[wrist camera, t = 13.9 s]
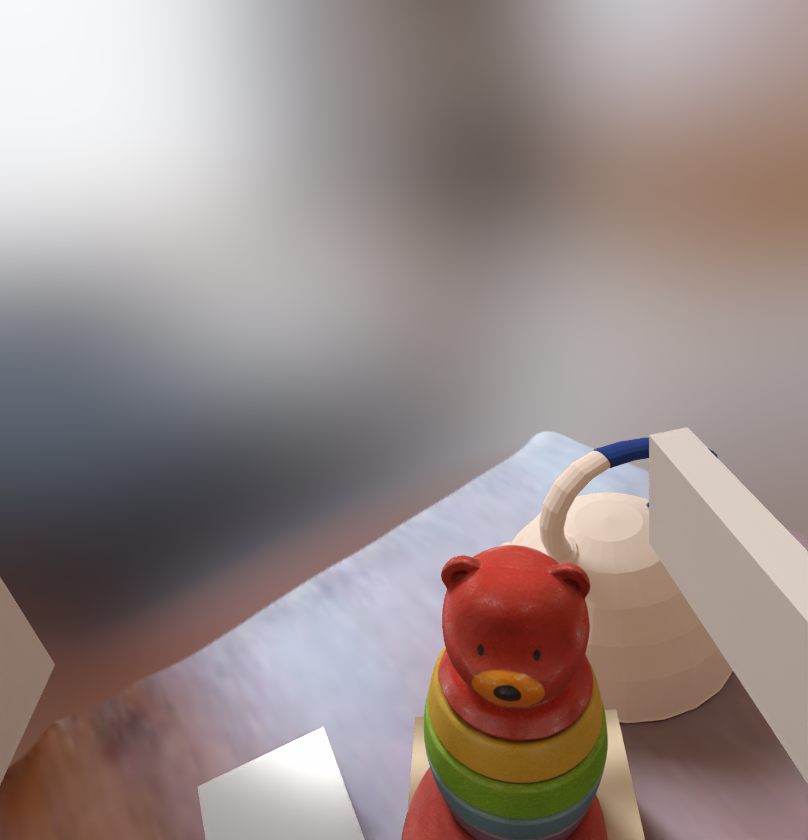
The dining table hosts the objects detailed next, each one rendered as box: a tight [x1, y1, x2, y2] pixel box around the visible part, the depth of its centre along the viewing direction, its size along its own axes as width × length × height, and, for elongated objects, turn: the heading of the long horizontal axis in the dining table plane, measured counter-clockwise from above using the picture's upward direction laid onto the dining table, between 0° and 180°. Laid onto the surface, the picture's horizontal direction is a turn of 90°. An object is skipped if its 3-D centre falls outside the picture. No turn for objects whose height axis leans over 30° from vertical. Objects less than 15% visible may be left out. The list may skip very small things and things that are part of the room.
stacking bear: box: [402, 545, 608, 840], centre depth 33 cm, size 11×10×18 cm
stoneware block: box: [198, 727, 365, 840], centre depth 44 cm, size 9×9×6 cm
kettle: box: [500, 438, 733, 723], centre depth 54 cm, size 20×21×18 cm
